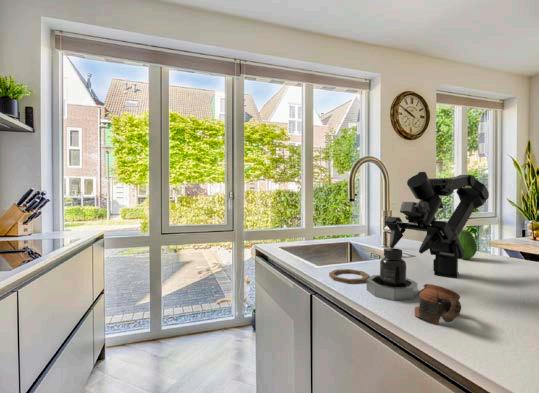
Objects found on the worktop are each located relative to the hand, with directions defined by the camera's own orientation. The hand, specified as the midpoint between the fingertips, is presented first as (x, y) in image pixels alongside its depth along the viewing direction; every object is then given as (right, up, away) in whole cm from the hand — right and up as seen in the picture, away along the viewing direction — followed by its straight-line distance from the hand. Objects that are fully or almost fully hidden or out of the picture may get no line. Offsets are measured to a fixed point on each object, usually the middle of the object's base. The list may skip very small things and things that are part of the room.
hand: (404, 249), depth 88 cm
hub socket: (-5, -11, -3) cm, 13 cm away
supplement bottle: (-5, -12, -3) cm, 13 cm away
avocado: (+40, -10, +34) cm, 53 cm away
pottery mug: (-1, -12, -20) cm, 24 cm away
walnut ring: (-13, -11, +11) cm, 20 cm away
